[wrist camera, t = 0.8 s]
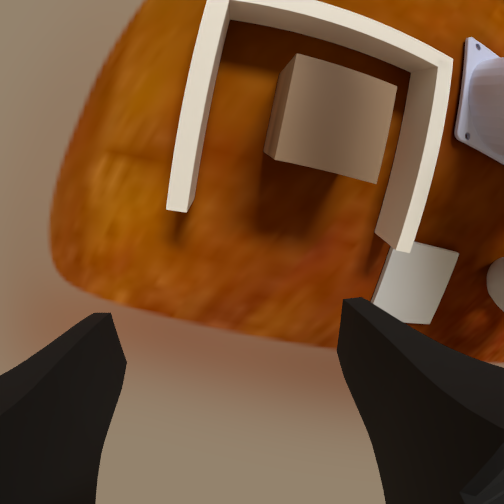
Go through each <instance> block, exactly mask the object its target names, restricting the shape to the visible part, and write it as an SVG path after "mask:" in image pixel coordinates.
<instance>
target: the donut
mask: <svg viewBox="0 0 504 504" xmlns="http://www.w3.org/2000/svg"><path fill="white" fill-rule="evenodd" d="M487 289H488V292H489V295H490V296H491V298H492V299H493V300H494V302H495V303H496V305H497V306H498V307H499V308H500V309H501V310H502V311H504V257H502V258H499V259H497V260H495V261H494V262H493V263H492V264H491V266H490V268H489V270H488V273H487Z"/></svg>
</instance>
